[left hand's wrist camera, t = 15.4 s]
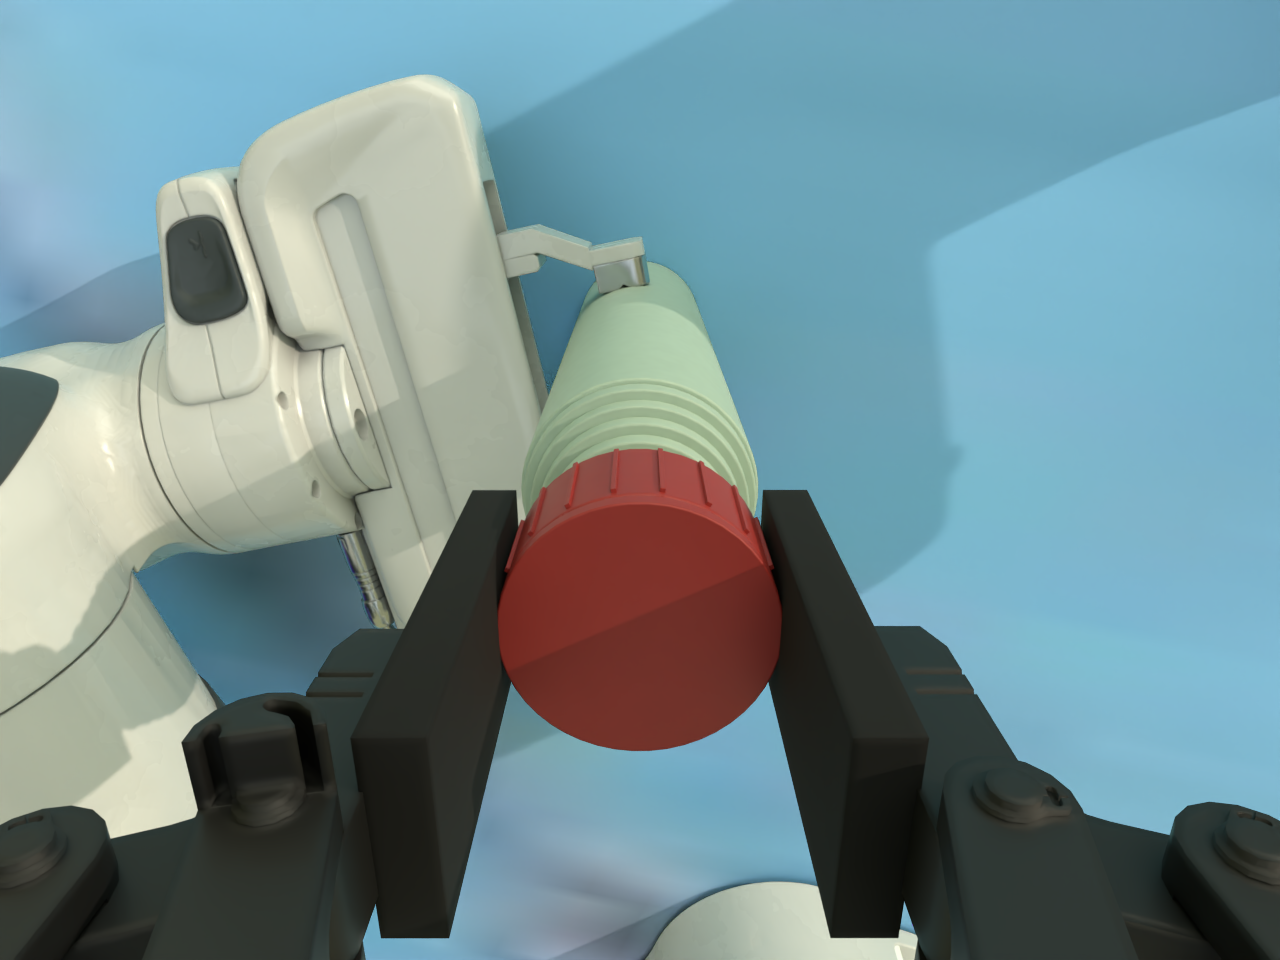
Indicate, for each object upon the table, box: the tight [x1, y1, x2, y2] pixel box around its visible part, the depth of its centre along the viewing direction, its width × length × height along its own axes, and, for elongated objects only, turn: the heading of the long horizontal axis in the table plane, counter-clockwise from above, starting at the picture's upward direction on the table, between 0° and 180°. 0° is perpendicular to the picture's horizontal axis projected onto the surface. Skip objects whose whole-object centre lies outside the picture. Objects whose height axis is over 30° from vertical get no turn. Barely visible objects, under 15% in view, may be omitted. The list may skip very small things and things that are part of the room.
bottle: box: [521, 262, 758, 517], centre depth 24 cm, size 5×5×24 cm
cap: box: [497, 448, 782, 751], centre depth 14 cm, size 4×4×2 cm
